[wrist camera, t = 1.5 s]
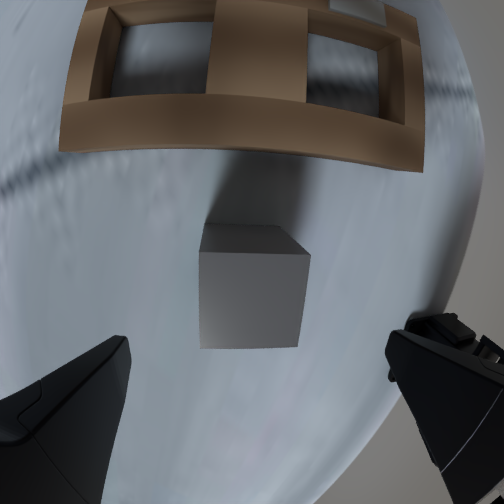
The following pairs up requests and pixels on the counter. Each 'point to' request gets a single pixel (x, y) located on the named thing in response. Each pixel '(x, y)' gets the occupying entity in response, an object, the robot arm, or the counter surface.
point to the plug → (250, 287)
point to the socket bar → (251, 83)
